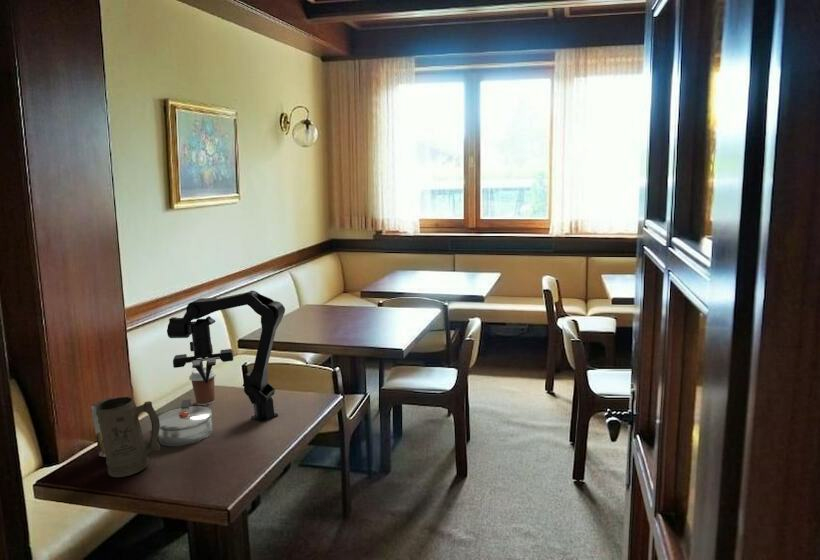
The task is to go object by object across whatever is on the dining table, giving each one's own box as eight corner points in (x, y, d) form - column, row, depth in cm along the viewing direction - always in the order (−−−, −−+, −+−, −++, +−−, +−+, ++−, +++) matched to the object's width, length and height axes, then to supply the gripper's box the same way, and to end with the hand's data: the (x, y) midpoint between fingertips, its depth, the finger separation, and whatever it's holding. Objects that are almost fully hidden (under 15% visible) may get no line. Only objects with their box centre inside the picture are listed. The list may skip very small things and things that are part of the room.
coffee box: (137, 451, 192) (130, 399, 189) (120, 460, 186) (112, 407, 183) (115, 447, 196) (108, 396, 193) (97, 456, 190) (90, 404, 187)
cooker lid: (211, 424, 195) (210, 417, 194) (153, 434, 190) (152, 426, 190) (212, 399, 217) (211, 393, 217) (160, 407, 213) (159, 400, 212)
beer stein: (106, 482, 172) (95, 412, 169) (104, 467, 182) (94, 400, 178) (166, 467, 179) (157, 399, 176) (162, 454, 189) (153, 389, 185)
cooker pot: (222, 431, 202) (221, 416, 202) (177, 450, 190) (175, 434, 189) (183, 417, 217) (181, 403, 216) (138, 434, 204) (136, 419, 204)
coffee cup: (206, 408, 225) (202, 375, 223) (186, 405, 228) (182, 373, 226) (224, 399, 233) (220, 367, 231) (205, 396, 237) (201, 365, 235)
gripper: (230, 328, 220) (235, 372, 223) (173, 335, 216) (178, 379, 218) (230, 336, 210) (235, 382, 212) (170, 343, 205) (176, 389, 208)
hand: (206, 383), depth 213 cm, fingers closed
